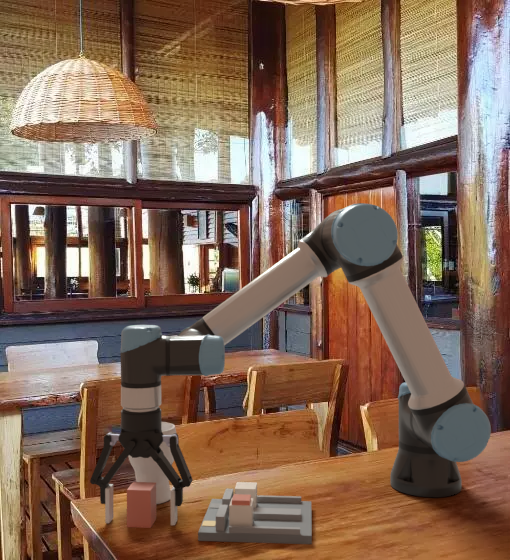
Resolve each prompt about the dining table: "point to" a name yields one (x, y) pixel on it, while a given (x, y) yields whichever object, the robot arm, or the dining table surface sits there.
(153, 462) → the cup
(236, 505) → the block
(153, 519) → the cap
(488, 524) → the dining table surface
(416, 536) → the dining table surface
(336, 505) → the dining table surface
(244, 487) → the block
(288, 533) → the panel
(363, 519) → the dining table surface
